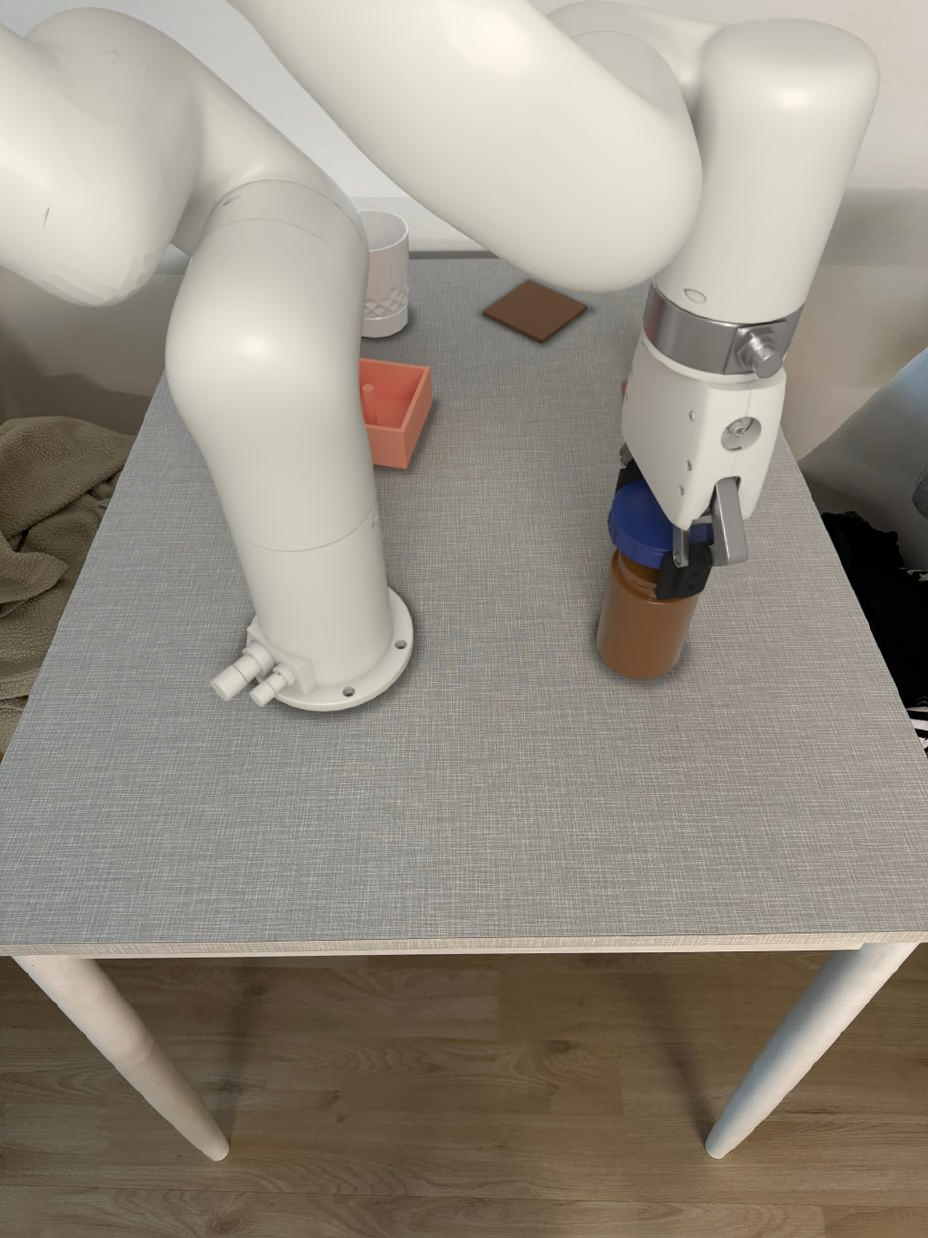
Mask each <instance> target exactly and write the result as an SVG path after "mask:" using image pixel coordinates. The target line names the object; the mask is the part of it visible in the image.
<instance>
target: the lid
mask: <svg viewBox="0 0 928 1238" xmlns="http://www.w3.org/2000/svg"><path fill="white" fill-rule="evenodd" d="M614 495H615V494H614ZM708 507H709V506H708ZM606 524H607V526H608V527H607V530H608V535H609V537H610V540H611V543H612V544H613V545H614V546H615V547H616V548H617V549H618V550H619V551H620V552H621V553H623V554H624V555H625V556H627V557H628V558H630V559H631V560H633V561H635V562H637V563H639V564H642V565H644V566H648V567H651V568H656V569H661V568H662V564H663V561H664V557H665V555H666V554H667V553H669V552H673V523H672V522H671V521H670V520H669V519H668V517H667V516H666V514H665V513H664V511H663V510H662V508H661V506H660V504H659V503H658V501H657V499H656V498H655V496H654V494H653V492H652V490H651V489H650V487H649V485H648V483H647V481H646V480H645V478H643V479H638V480H635V481H632V482H630V483H628V484H627V485H625V486H624V487H622V488H621V489H620V490H619V491H618V492H617V494H616V495H615V497H614V496H613V499H612V502H611V506H610V510H609V511H608V517H607V522H606ZM702 541H707V524H704V525H699V526H693V527H690V544H692V543H697V542H702Z"/></svg>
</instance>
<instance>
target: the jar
mask: <svg viewBox="0 0 928 1238" xmlns="http://www.w3.org/2000/svg"><path fill="white" fill-rule="evenodd" d="M660 571H661V569H656V568H651V567H648V566H644V565H642V564H639V563H637V562H635V561H633V560H631V559H630V558H628V557H627V556H625V555H624V554H623V553H621V552H620V551H619V550H618V549H617V547H616V548H615V549H614V550H613V553H612V554H611V558H610V562H609V568H608V574H607V579H606V582H605V583H606V585H605V589H604V595H603V600H602V604H601V611H600V615H599V621H598V626H597V632H596V638H595V646H596V650H597V653H598V655H599V657H600V658H601V660H602V661H603V663H604V664H605V665H606V666H607V667H609V668H610V669H611V670H613V671H614V672H616V673H617V674H619V675H621V676H623V677H627V678H631V679H635V680H651V679H656V678H659V677H661V676H664V675H665V674H667V673H669V672H670V671H671V670H672V669H673V668H674V667H675V666H676V664H677V663H678V661H679V659H680V656H681V653H682V650H683V647H684V644H685V641H686V638H687V634H688V631H689V628H690V626H691V623H692V619H693V616H694V614H695V610H696V607H697V604H698V601H699V598H700V594H701V593H699V594H696V595H694V596H692V597H688V598H683V599H680V598H674V599H670V600H665V601H658V599H657V597H656V595H655V589H656V585H657V582H658V578H659V575H660Z"/></svg>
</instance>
